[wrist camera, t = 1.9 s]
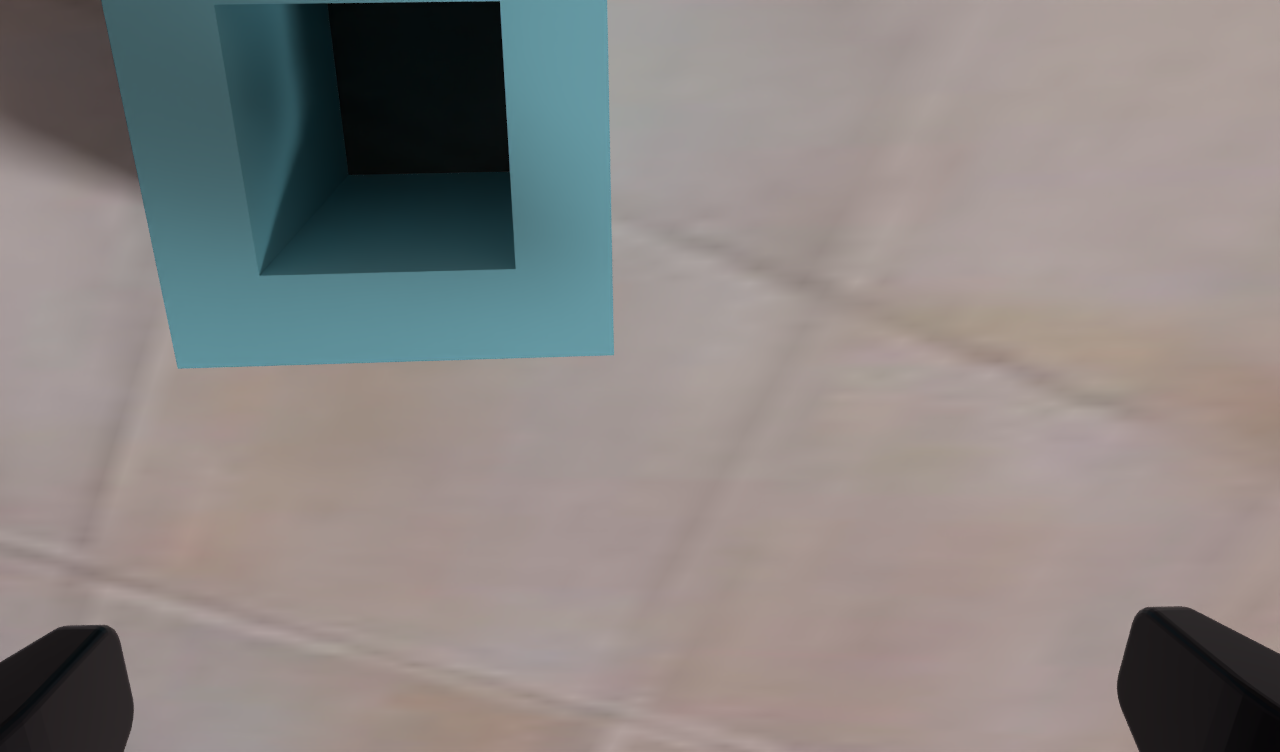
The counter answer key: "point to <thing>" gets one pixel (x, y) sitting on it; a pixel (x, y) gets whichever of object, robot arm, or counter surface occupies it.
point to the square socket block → (363, 194)
